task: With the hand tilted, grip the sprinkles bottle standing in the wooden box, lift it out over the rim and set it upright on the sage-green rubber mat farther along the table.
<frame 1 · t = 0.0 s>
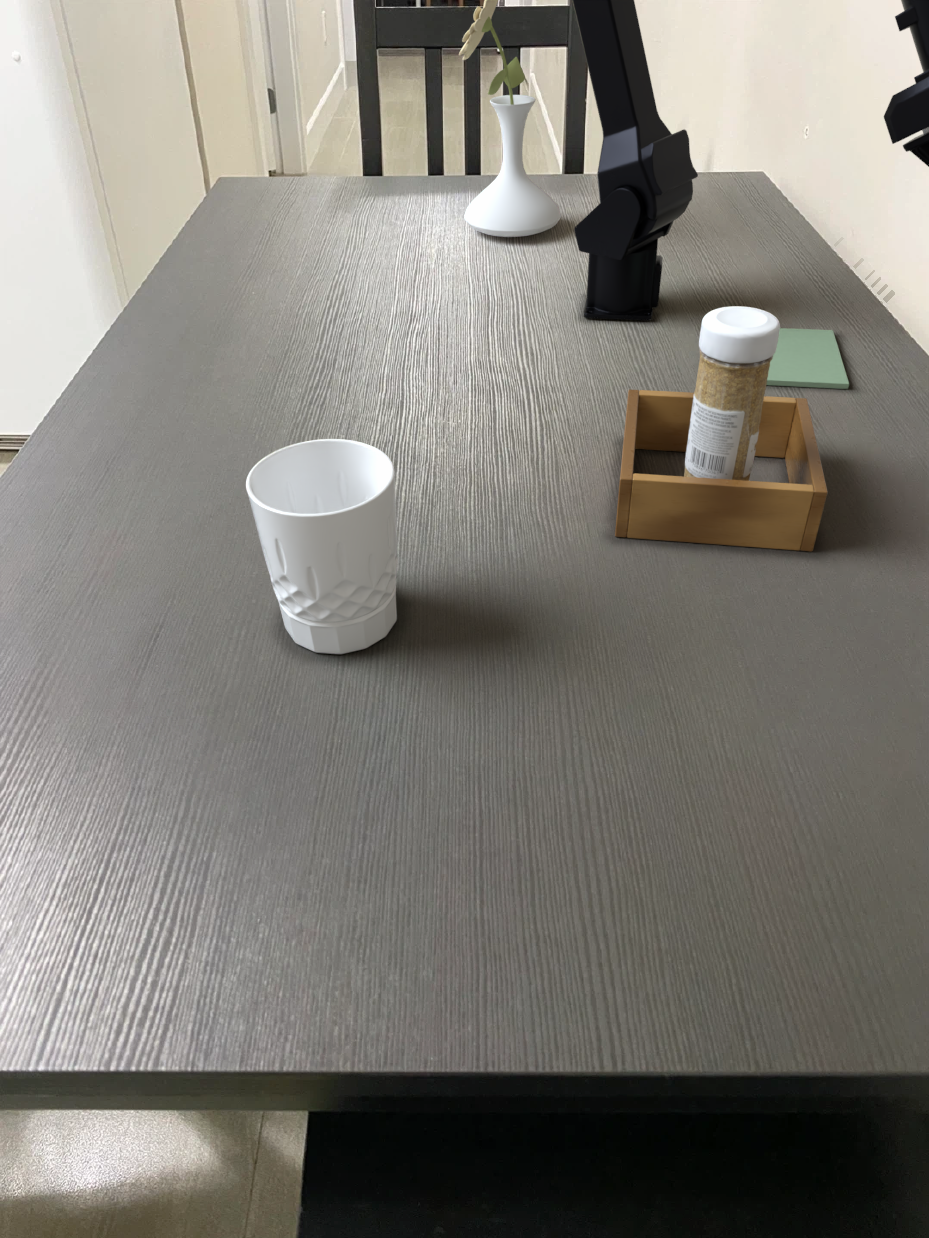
white cup: (342, 621, 56), on the table
wooden box: (710, 493, 66), on the table
flower in vase: (508, 234, 111), on the table
mat: (774, 358, 82), on the table
sprinkles bottle: (710, 511, 64), resting in wooden box
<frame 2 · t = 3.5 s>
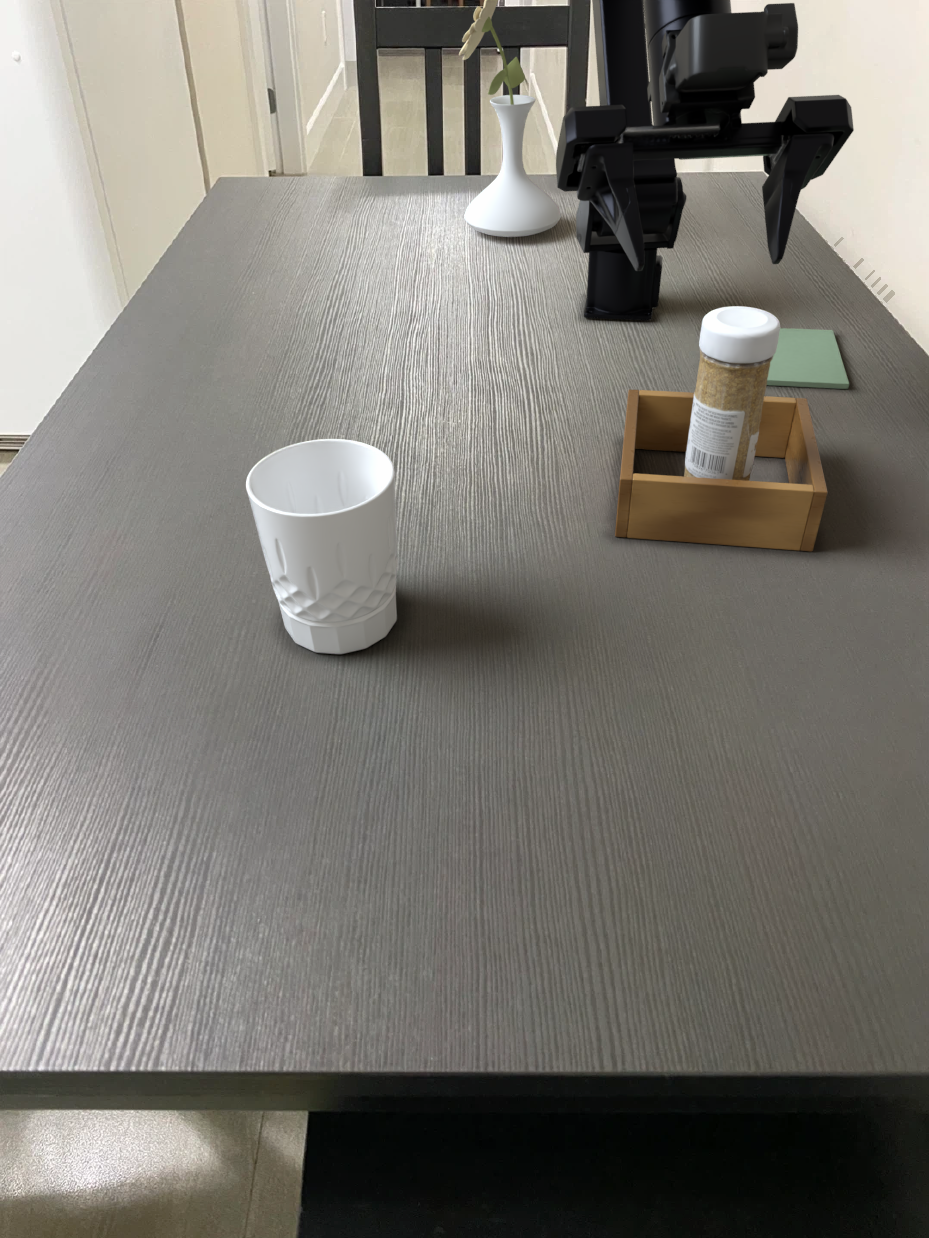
hand: (709, 264, 62), 14 cm above the table, tool tilted 45°, fingers open, 9 cm apart
nothing on the table moved.
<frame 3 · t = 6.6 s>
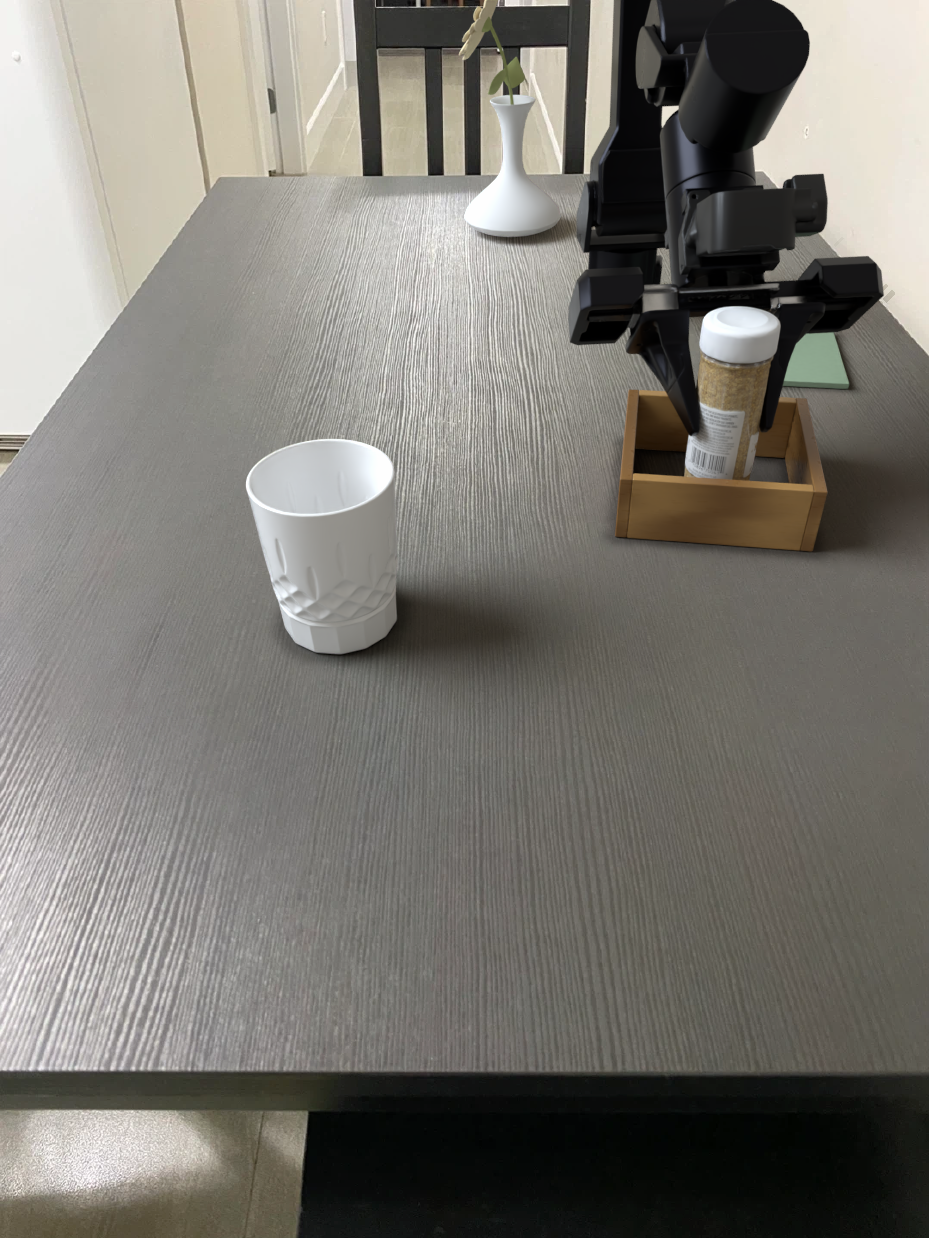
hand: (730, 432, 59), 7 cm above the table, tool tilted 45°, fingers closed on sprinkles bottle, 4 cm apart
sprinkles bottle: (710, 511, 64), resting in wooden box, touching gripper
everything else where it was.
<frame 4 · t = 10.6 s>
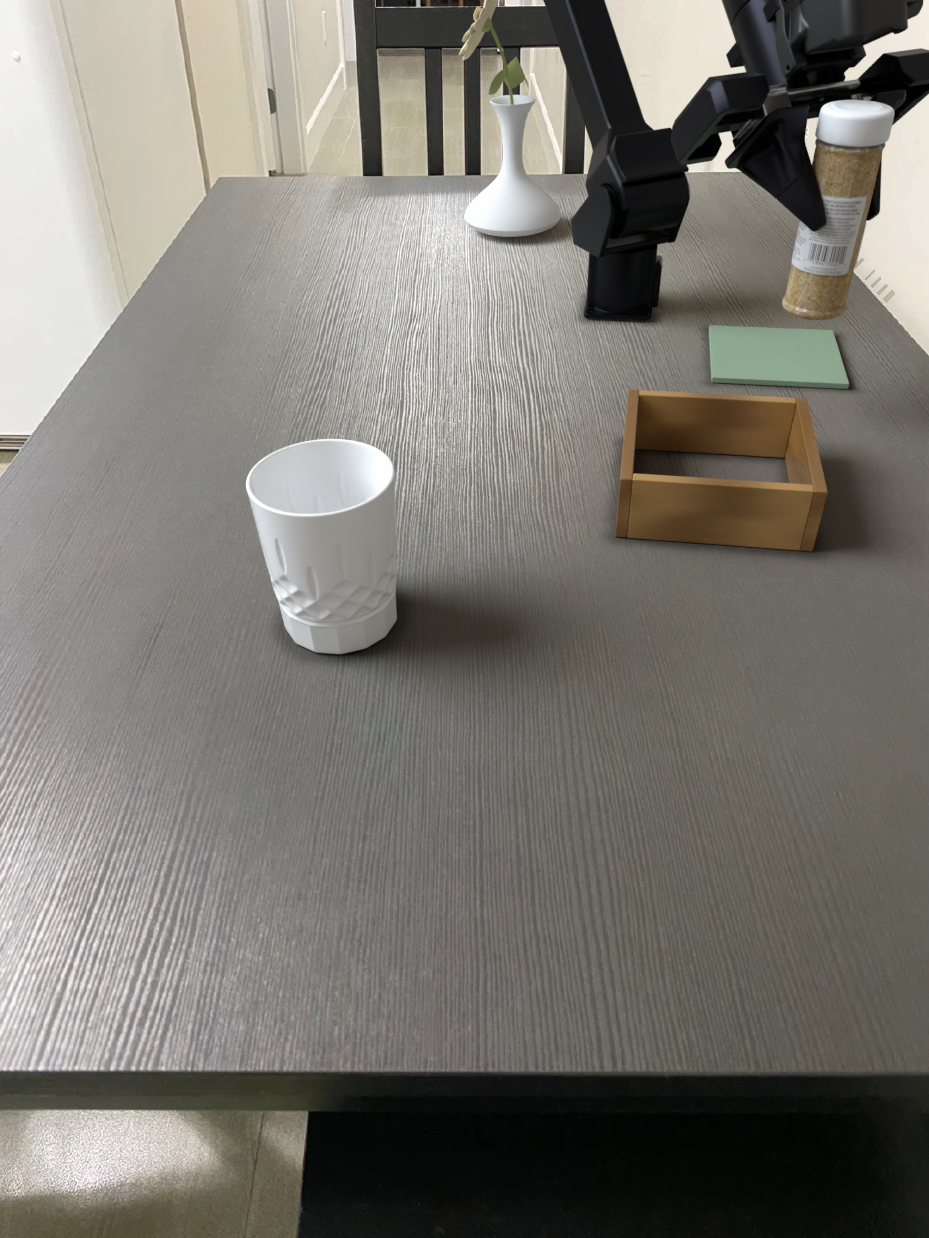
hand: (846, 223, 63), 15 cm above the table, tool tilted 45°, fingers closed on sprinkles bottle, 4 cm apart
sprinkles bottle: (811, 312, 69), point 8 cm above the table, touching gripper
everything else where it was.
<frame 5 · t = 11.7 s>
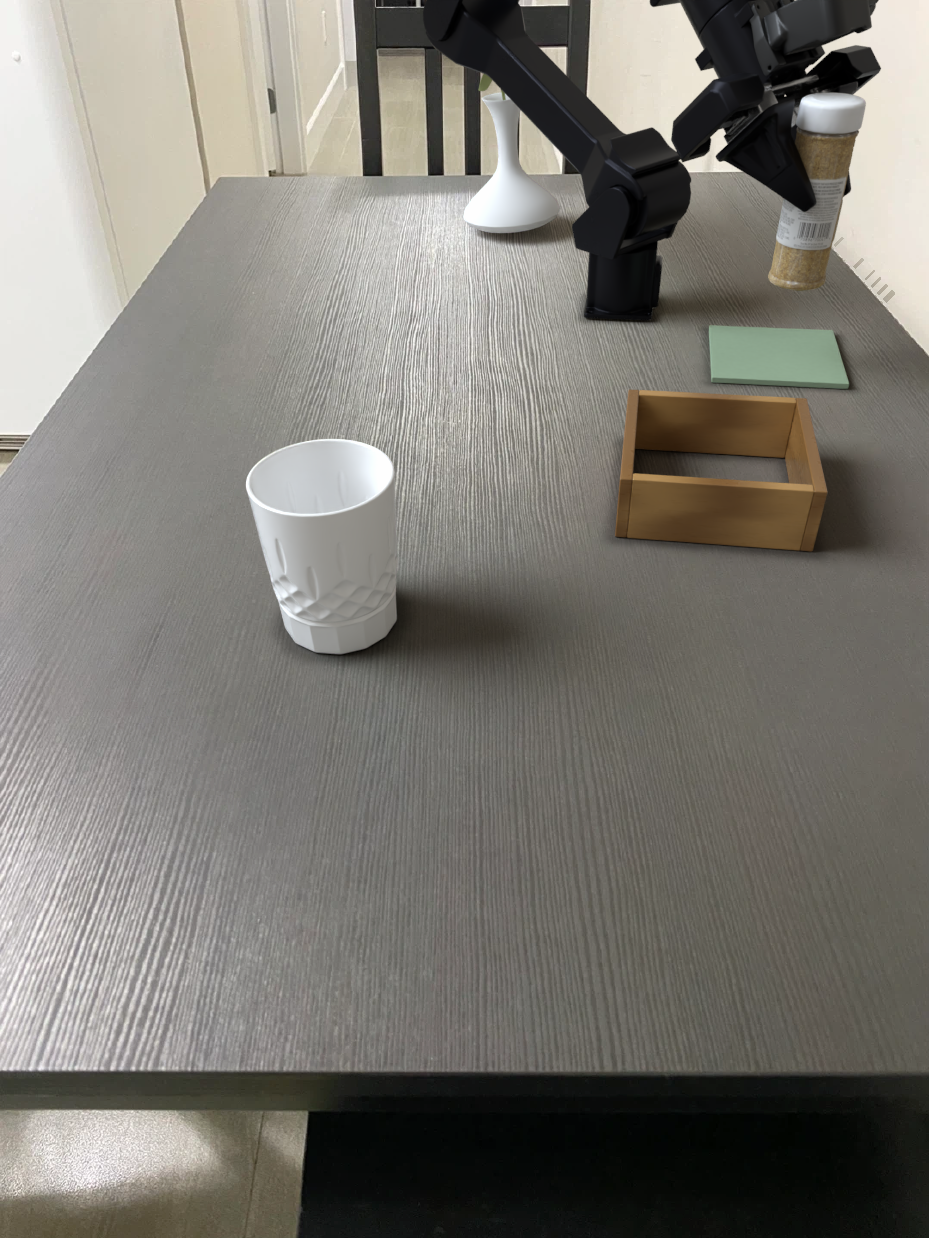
hand: (828, 202, 71), 14 cm above the table, tool tilted 45°, fingers closed on sprinkles bottle, 4 cm apart
flower in vase: (508, 231, 110), on the table, touching arm
sprinkles bottle: (794, 285, 76), point 7 cm above the table, touching gripper
everything else where it was.
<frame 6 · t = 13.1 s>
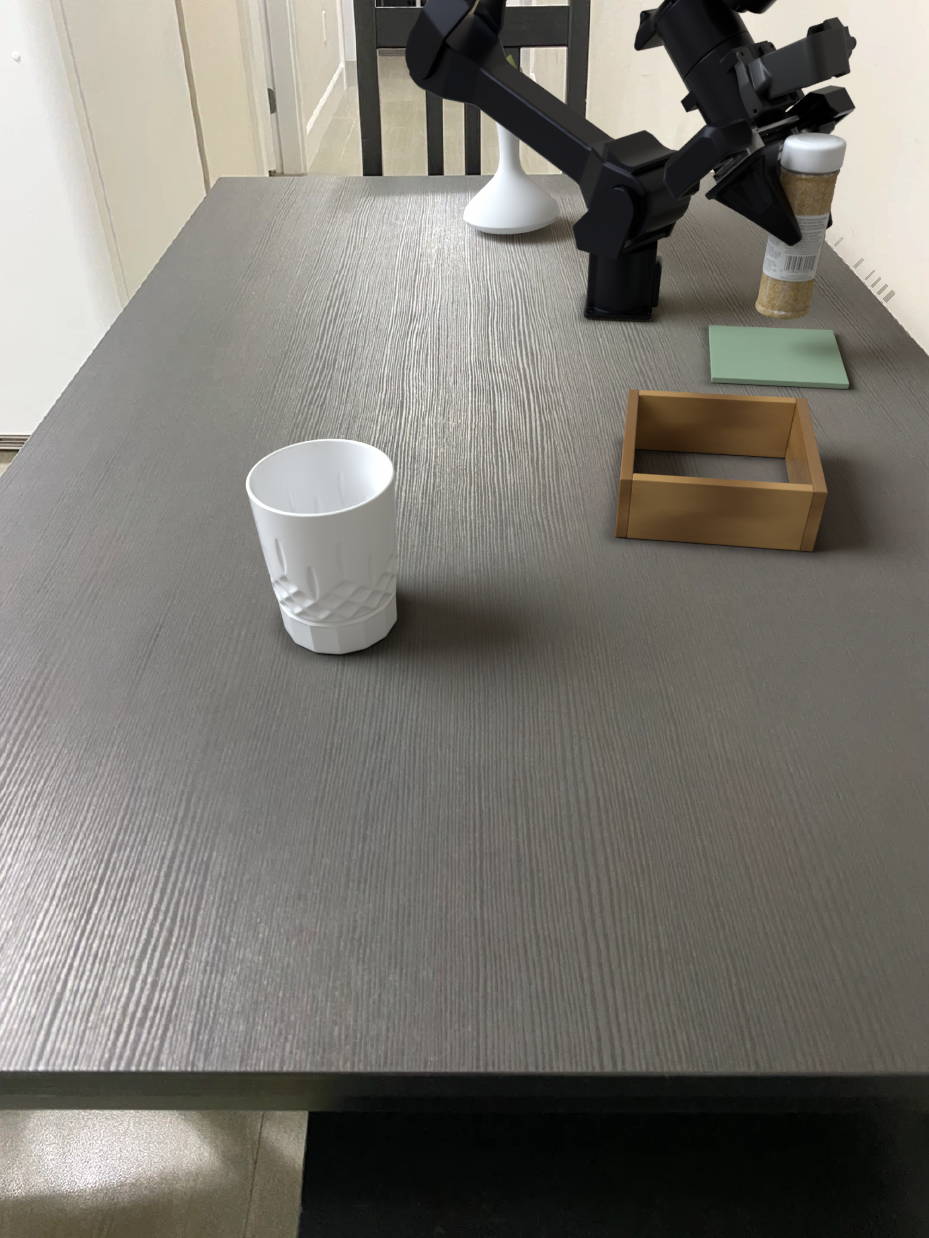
hand: (812, 236, 75), 11 cm above the table, tool tilted 45°, fingers closed on sprinkles bottle, 4 cm apart
sprinkles bottle: (780, 313, 80), point 4 cm above the table, touching gripper
everything else where it was.
when the fingers open (7 cm above the table, at t = 14.5 s): sprinkles bottle stays where it is, resting on mat.
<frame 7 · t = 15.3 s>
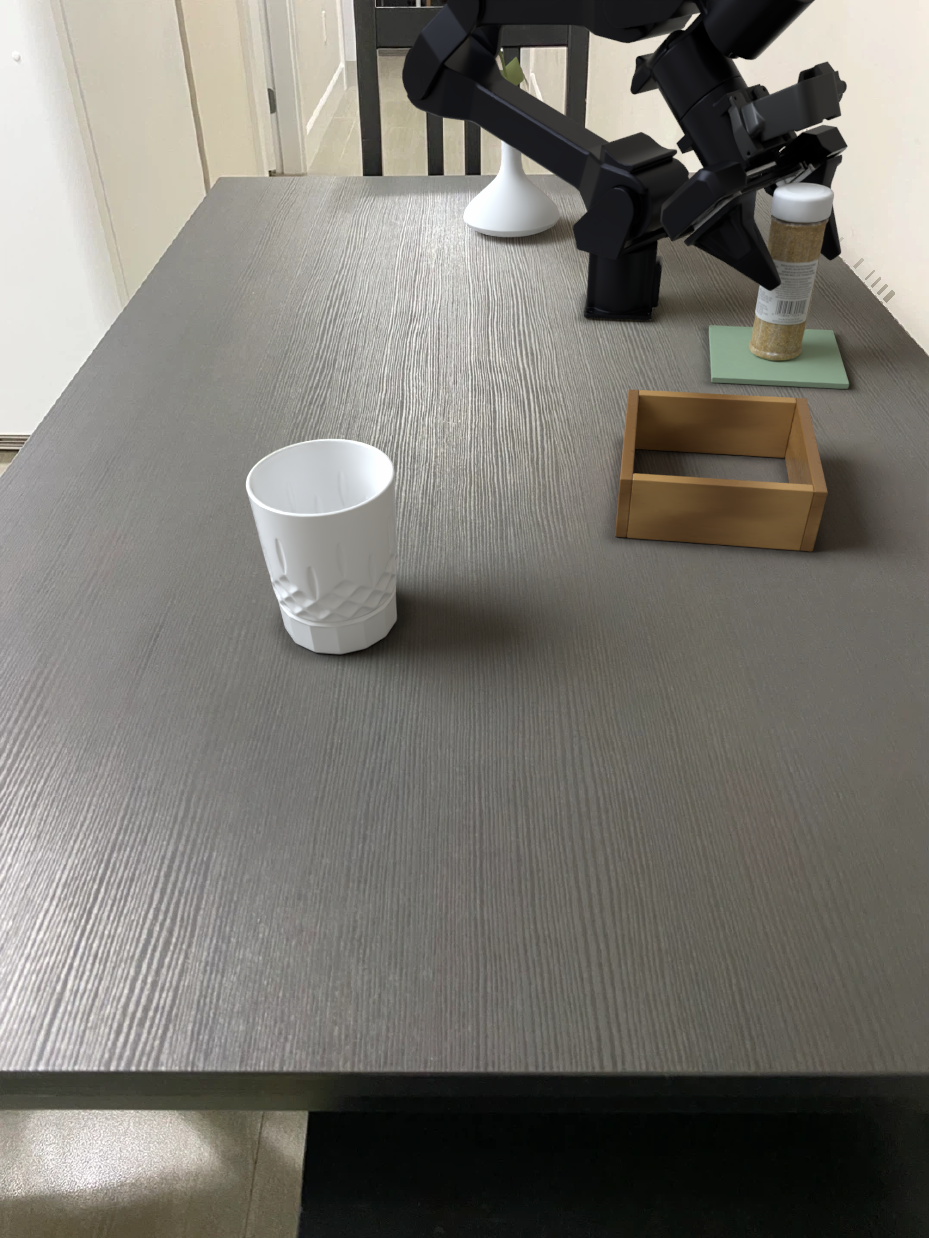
hand: (806, 272, 76), 8 cm above the table, tool tilted 45°, fingers open, 9 cm apart
sprinkles bottle: (773, 354, 82), resting on mat
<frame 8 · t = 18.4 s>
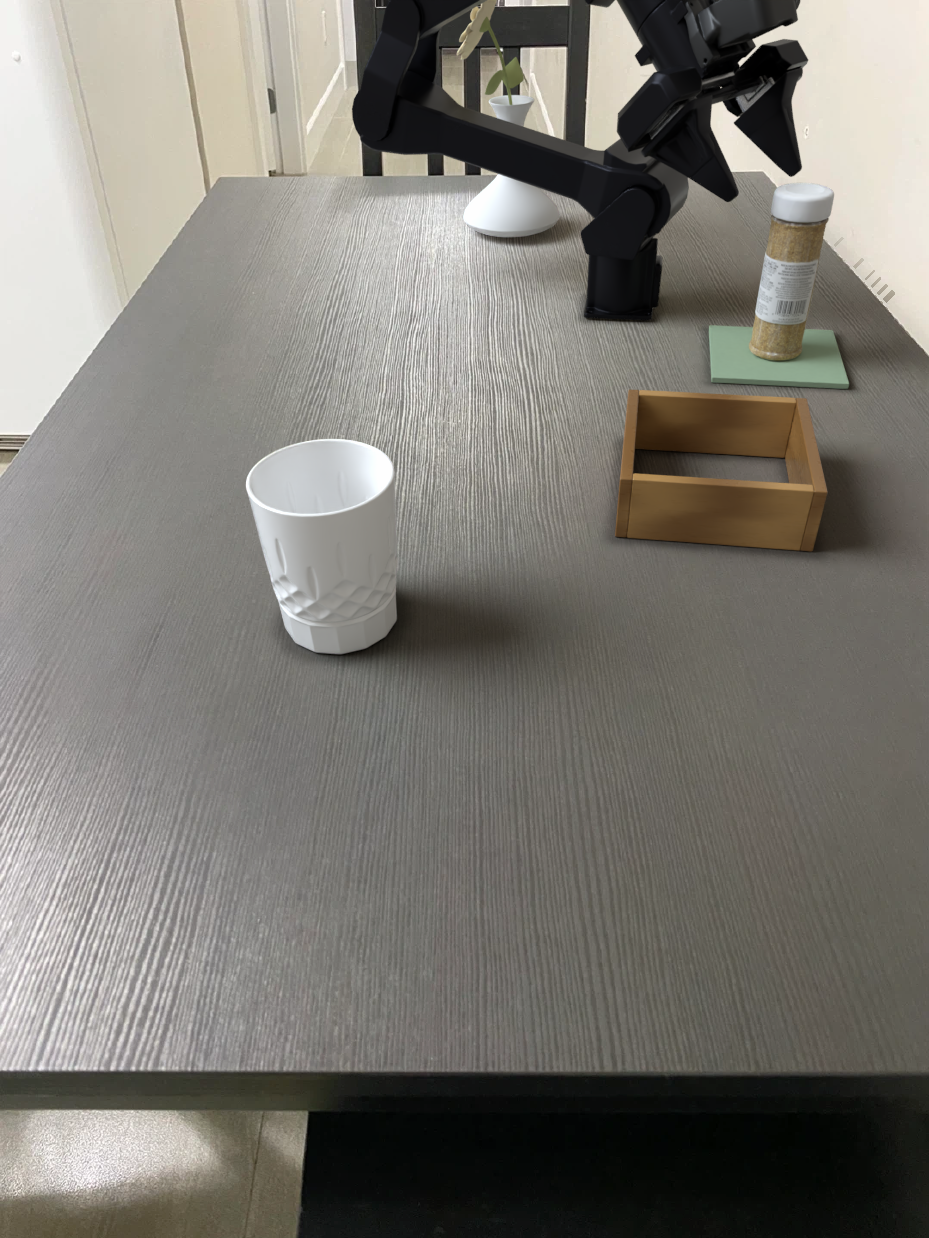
hand: (766, 185, 75), 14 cm above the table, tool tilted 45°, fingers open, 9 cm apart
flower in vase: (507, 234, 111), on the table
everything else where it was.
at the end: sprinkles bottle inside the target area on the mat (0.1 cm from its centre), point 0.3 cm above the mat's base; sprinkles bottle tilted 0°; the gripper is holding nothing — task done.
